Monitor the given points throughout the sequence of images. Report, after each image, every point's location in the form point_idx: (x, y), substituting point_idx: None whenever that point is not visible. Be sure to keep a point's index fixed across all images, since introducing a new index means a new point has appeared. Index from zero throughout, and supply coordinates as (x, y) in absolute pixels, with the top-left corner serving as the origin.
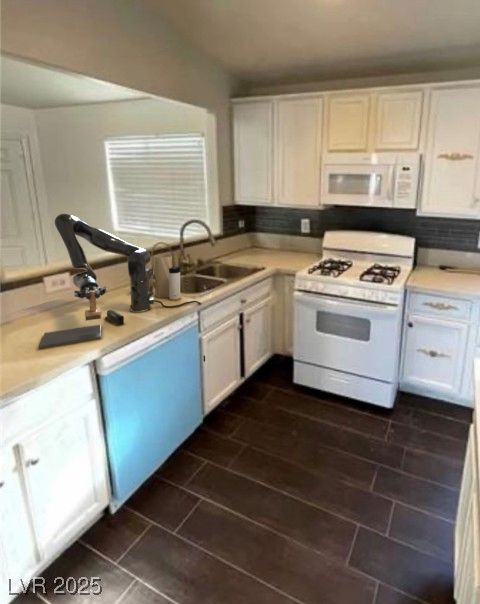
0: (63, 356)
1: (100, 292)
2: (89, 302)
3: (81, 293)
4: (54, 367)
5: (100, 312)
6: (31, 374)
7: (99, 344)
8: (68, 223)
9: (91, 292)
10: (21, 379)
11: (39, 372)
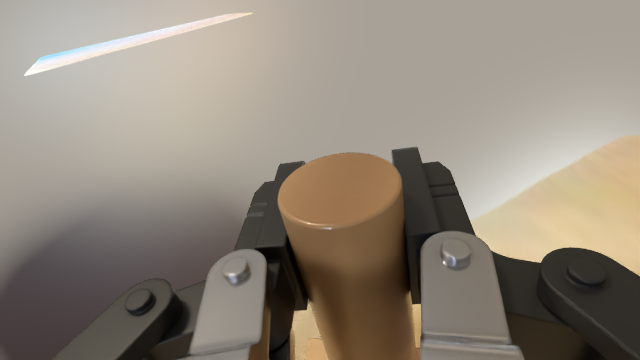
0: (535, 247)
1: (195, 293)
2: (414, 335)
3: (587, 253)
4: (538, 186)
5: (317, 342)
6: (609, 172)
7: None
8: None
9: (362, 161)
10: (629, 158)
11: (583, 175)
